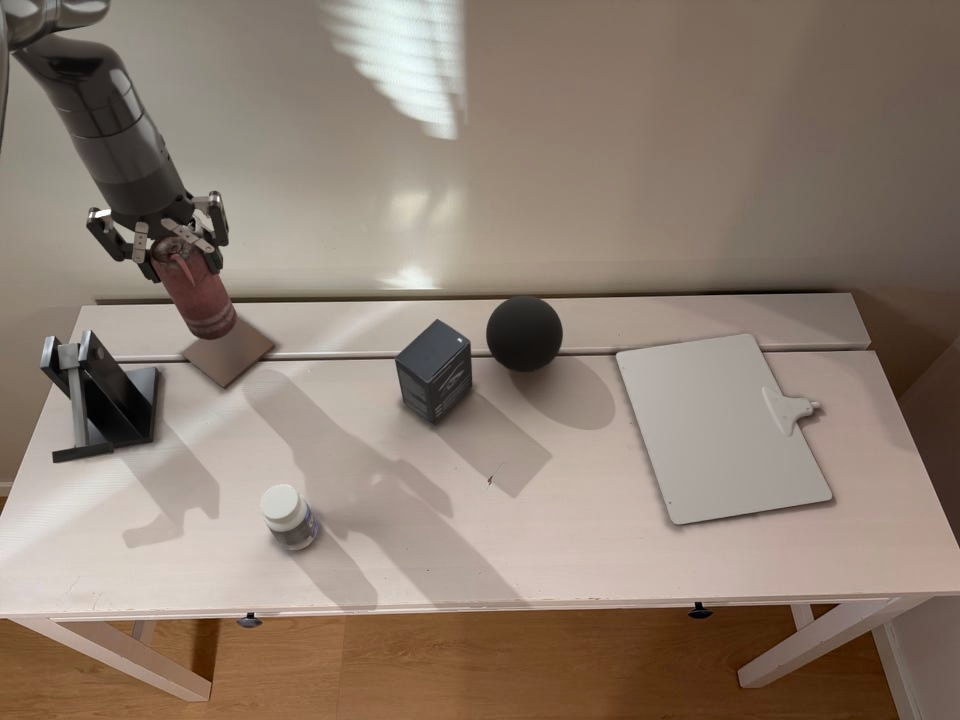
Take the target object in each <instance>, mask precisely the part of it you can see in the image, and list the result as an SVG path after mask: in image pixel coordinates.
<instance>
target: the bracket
mask: <svg viewBox="0 0 960 720" xmlns="http://www.w3.org/2000/svg"><path fill="white" fill-rule="evenodd" d="M81 334H82V335H81V338H80V339H81V340H80V344H81V345H80V351H79V357H78V362H79V364H80V365H81V366H82V367H83V368H84V369H85V370H83V371H82V372H83V382H84V392H85V402H86V412H87V422H88V432H89V442H90V445H92V444H97V443H103V442H113V447H114V450H116V449H122V448H128V447H133V446H134V447H135V446H138V445H139V446H140V445H144V444H150V443H154V441H155V429H156V417H157V404H158V393H159V392H158V391H159V379H160V370H159V369H158V368H157V367H156V366H152V367H151V366H150V367H145V368H139V369H133V370H128V371H124V370H123V368H122V367H121V365H120V364H119V363H118V361H116V359H115V358H114V357H113V355H112V354H111V353H110V352H109V351H108V349H107V348H106V346H105V345H104V344H103V342H102V341H101V340H100V339H99V338H98V336H97V335H96V334H95V331H93V330H92V329H89V330H83V331H82V333H81ZM58 345H64V344H63V343H62V342H61V341H60V339H59V338H58V337H57V336H56V335H51V336H46V337H45V340H44V345H43V349H42V354H41V358H40V364H39V369H40V370H41V372H43V373H44V375H45V376H47V377H48V379H50V381H51V382H52V383H53V384H54V385H55V386H56V387H57V388H58V389H59V390H60V391H61V392H62V393H63V394H64V395H65V396H66V398H68V399H69V400H70V401H71V395H70V384H69V374H68V372H67V371H64V370H61V369H60V366H59V355H58ZM75 447H76V446H75V445H74V447H73V448H75Z"/></svg>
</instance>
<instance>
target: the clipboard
mask: <svg viewBox="0 0 960 720" xmlns="http://www.w3.org/2000/svg"><path fill="white" fill-rule="evenodd" d="M615 359H616V362H617V365H618V368H619V371H620V374H621V377H622V379H623V384H624V386H625V389H626V392H627V395H628V398H629V400H630V404H631V406H632V410H633V413H634V415H635V418H636V422H637V424H638V427H639V430H640V433H641V436H642V438H643V442H644V445H645V447H646V451H647V453H648V456H649V460H650V463H651V465H652V469H653V471H654V474H655V477H656V480H657V483H658V486H659V489H660V492H661V495H662V497H663V500H664V504H665V507H666V510H667V512H668V516H669V519H670V521H671V522H672V523H673V524H674V525H677V526H679V525H685V524H692V523H697V522H704V521H710V520H716V519H722V518H728V517H729V518H730V517H735V516H741V515H746V514H753V513H759V512H765V511H772V510H778V509H784V508H789V507H795V506H800V505H801V506H802V505H809V504H814V503H820V502H826V501H830V500H831V499H832V498H833V493H832V490H831V489H830V487H829V485H828V483H827V480H826V479H825V477H824V474H823V473H822V470H821V469H820V466H819V465H818V462H817V461H816V458H815V457H814V455H813V452H812V451H811V448H810V447H809V445H808V443H807V440H806V439H805V436H804V435H803V433H802V430H801V428H800V426H799V425H798V423H797V420H799V419H800V418H804V417H809V416H811V415H812V414H813V413H814V410H815V409H819V408H821V403H820V402H819V401H812V402H811V401H810V400H809V399H808V398H807V397H798V398H793V397H789V396H784V395H783V393H782V390H781V388H780V386H779V384H778V382H777V380H776V379H775V377H774V375H773V373H772V371H771V369H770V366H769V364H768V363H767V361H766V358H765V357H764V354H763V353H762V351H761V349H760V346H759V345H758V343H757V340H756V338H755V337H754V335H752V334H750V333H741V334H740V333H739V334H734V335H733V334H732V335H727V336H719V337H713V338H706V339H700V340H692V341H686V342H679V343H672V344H665V345H664V344H663V345H658V346H651V347H650V346H649V347H643V348H637V349H636V348H635V349H630V350H623V351H618V352H617V353H616V354H615Z"/></svg>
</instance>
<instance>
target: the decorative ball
mask: <svg viewBox="0 0 960 720" xmlns="http://www.w3.org/2000/svg"><path fill="white" fill-rule="evenodd" d="M563 330H564V329H563V324H562V321H561V318H560V316H559V315H558V313H557V311H556V310H555V308H554V307H553V306H551V304H549V303H548V302H546V301H545V300H543V299H541V298H539V297H536V296H532V295H517V296H513V297H510V298H508V299H506V300H504V301H503V302H501V303H500V304H499V305H498V306H496V308H495V309H494V310H493V311H492V313H491V314H490V316H489V319H488V321H487V324H486V330H485V337H486V338H485V339H486V343H487V347H488V350H489V352H490V354H491V356H492V357H493V358H494V359H495V360H496V362H497V363H498V364H500V365H501V366H503V367H504V368H506V369H507V370H510V371H512V372H516V373H517V372H518V373H532V372H536V371H538V370H541V369H543V368H545V367H547V366H548V365H549V364H550V363H551V362H553V360H555V358H556V357H557V355H558V354H559V351H560V349H561V347H562V344H563V338H564V331H563Z"/></svg>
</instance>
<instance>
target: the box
mask: <svg viewBox="0 0 960 720" xmlns="http://www.w3.org/2000/svg"><path fill="white" fill-rule="evenodd" d="M394 363H395V368H396V373H397V378H398V383H399V387H400V393H401V398H402V403H403V404H405V405H406V406H407V407H408V408H410V409H411V410H413V412H415V413H416V414H418V415H419V416H420V417H422V418H423V419H424V420H425V421H426V422H428V423H430V424H431V425H432V426H435V425H437V423H438V422H440V420H441V419H442V418H444V416H446V414H447V413H448V412H449V411H450V410H452V409H453V408H454V406H455V405H456V404H457V403H459V402H460V400H461V399H462V398H463V397H464V396H465V395H466V394H467V393H468V392H469V391H470V390H471V389H472V388H473V387H474V386H473V385H474V384H473V364H472V363H473V361H472V340H470V338H468V337H466V336H465V335H464V334H462V333H461V332H459V331H458V330H456V329H455V328H453V327H451V326H450V325H448V323H445V322H444V321H442V320H441V319H439V318H436V319H435V320H434V321H433V322H431V324H430V325H428V326H427V327H426V328H425V329H424V330H423V331H422V332H421V333H419V335H417V336H416V337H415V338H414V339H413V340H412V341H411V342H410V343H409V344H408V345H407V346H405V347H404V348H403V349H402V350H401V351H400V352H399V353H398V354H397V355H396V356H394Z"/></svg>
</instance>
